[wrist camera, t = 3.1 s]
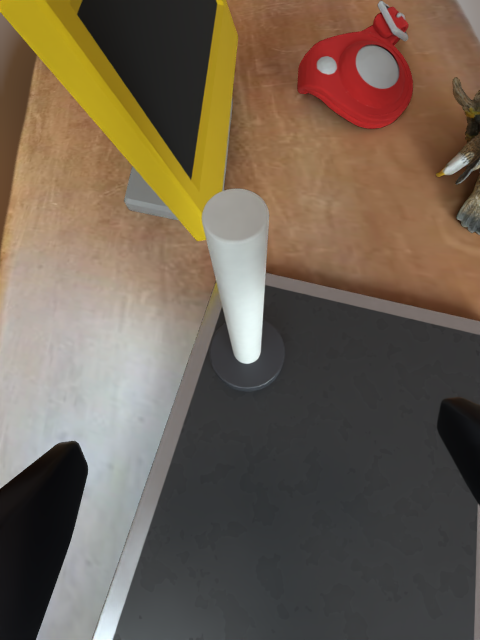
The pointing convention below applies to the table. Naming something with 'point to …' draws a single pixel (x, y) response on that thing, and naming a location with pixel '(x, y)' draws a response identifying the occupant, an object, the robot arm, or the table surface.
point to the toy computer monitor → (146, 88)
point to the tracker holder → (361, 72)
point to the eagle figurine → (468, 158)
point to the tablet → (311, 486)
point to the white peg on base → (241, 290)
